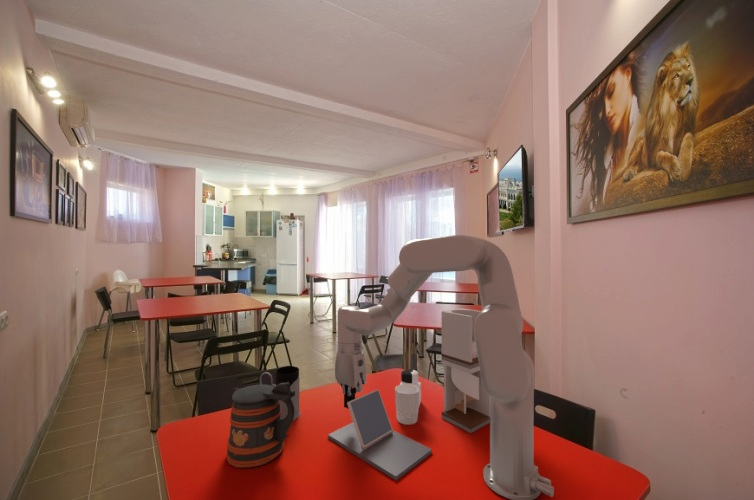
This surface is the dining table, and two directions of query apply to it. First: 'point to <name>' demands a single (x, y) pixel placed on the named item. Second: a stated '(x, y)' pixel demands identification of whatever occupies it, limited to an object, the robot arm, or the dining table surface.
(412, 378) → the medicine bottle
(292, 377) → the glass holder
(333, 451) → the dining table surface
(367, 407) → the tile
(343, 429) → the base
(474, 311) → the white tiered shelf stand
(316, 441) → the dining table surface
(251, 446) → the beer stein
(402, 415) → the white cup
